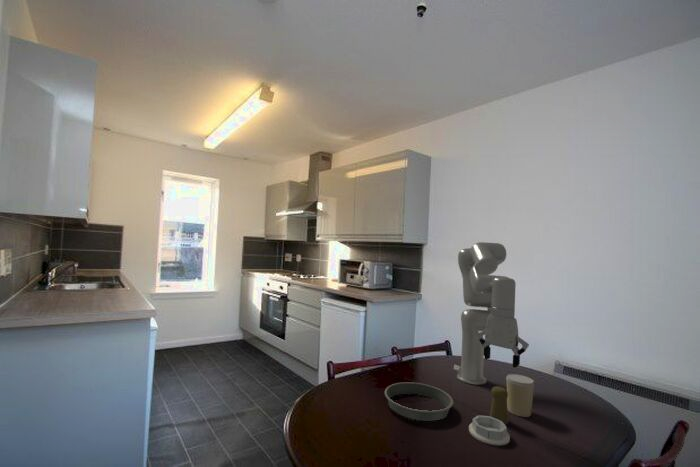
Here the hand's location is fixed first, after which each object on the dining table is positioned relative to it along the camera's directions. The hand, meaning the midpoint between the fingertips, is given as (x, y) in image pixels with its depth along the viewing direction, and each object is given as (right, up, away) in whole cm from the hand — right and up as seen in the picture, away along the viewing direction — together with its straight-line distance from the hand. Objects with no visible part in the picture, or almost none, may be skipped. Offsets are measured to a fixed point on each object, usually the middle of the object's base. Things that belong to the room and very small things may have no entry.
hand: (500, 362), depth 116 cm
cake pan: (-28, -19, +6) cm, 34 cm away
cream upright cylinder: (+10, -21, +7) cm, 24 cm away
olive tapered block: (-1, -20, -1) cm, 20 cm away
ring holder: (-8, -19, -10) cm, 23 cm away
